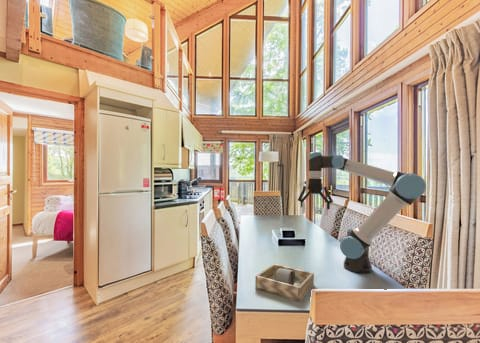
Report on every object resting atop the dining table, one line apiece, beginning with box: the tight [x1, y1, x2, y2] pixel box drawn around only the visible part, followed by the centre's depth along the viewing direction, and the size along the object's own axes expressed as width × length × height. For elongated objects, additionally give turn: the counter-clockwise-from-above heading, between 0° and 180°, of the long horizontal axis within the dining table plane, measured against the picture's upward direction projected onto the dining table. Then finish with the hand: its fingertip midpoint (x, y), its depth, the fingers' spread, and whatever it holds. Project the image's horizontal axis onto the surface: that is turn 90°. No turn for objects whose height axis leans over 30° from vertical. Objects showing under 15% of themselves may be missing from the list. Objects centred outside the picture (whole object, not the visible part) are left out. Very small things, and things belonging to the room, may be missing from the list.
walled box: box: [254, 263, 315, 303], centre depth 122 cm, size 22×20×6 cm
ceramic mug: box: [275, 268, 295, 285], centre depth 121 cm, size 11×8×8 cm
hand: (314, 213), depth 149 cm, fingers open, 13 cm apart
